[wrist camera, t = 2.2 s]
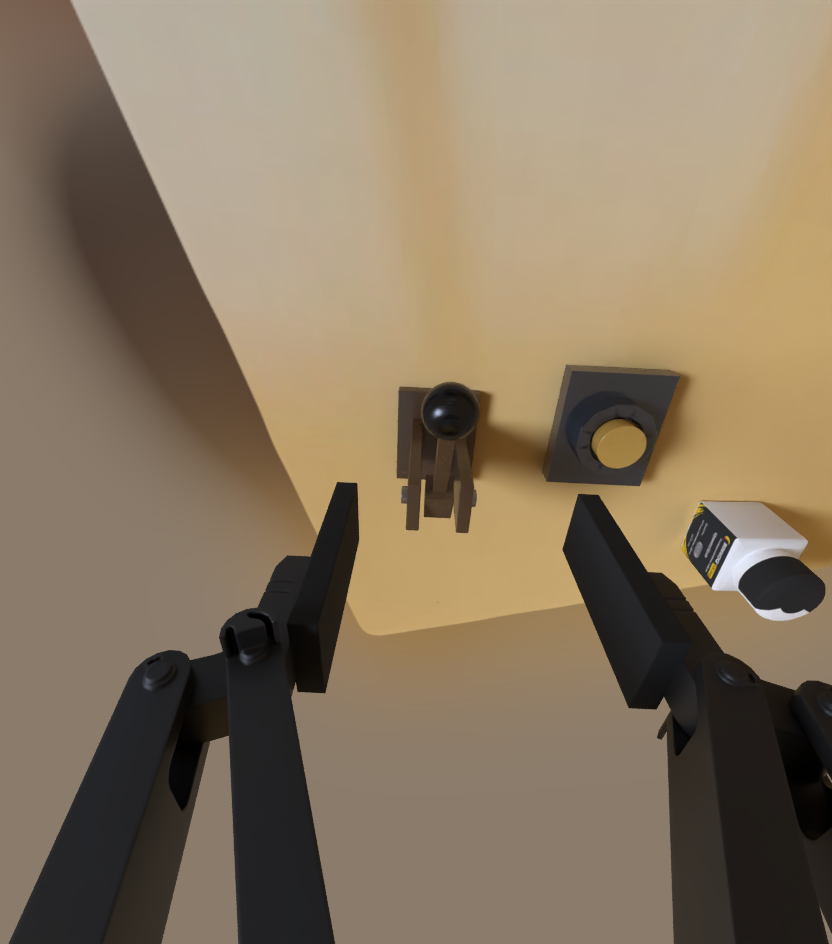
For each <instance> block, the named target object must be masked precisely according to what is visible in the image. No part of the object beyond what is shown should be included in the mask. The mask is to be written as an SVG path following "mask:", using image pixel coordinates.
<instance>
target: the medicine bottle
mask: <svg viewBox="0 0 832 944" xmlns="http://www.w3.org/2000/svg"><path fill="white" fill-rule="evenodd" d="M807 544H808V541H807V539H805V538H804V537H803V536H802V535H801V534H799V533H798V532H797V531H796V530H794V529H793V528H792V527H791V526H790V525H788V524H787V523H786V522H785V521H783V520H782V519H781V518H780V517H779V516H777V515H776V514H775V513H774V512H773V511H771V510H770V509H769V508H768V507H766V506H765V505H764V504H763V503H761V502H722V501H701V502H699V503H698V506H697V508H696V511H695V513H694V515H693V518H692V520H691V523H690V525H689V528H688V530H687V532H686V535H685V537H684V540H683V542H682V545H681V547H680V548H681V550H682V551H683V553H684V554H685V555H686V556H687V558H688V559H689V560H690V562H691V563H692V564H693V565H694V567H695V568H696V569H697V570H698V572H699V573H700V574H701V575H702V577H703V578H704V579H705V581H706V582H707V583H708V584H709V586H710V587H711V588H712V589H713V590H718V591H739V592H740V593H741V595H742V596H743V597H744V598H745V599H746V600H747V602H748V603H749V604H750V605H751V606H752V607H753V609H754V610H755V611H756V612H757V613H758V614H759V615H760V616H761V617H763V618H766V619H770V620H775V621H786V620H791V619H795V618H799V617H801V616H803V615H806V614H807V613H809V612H811V611H812V610H814V609H815V608H816V607H817V606H818V605H819V604H820V603H821V602H822V600H823V599H824V596H825V584H824V582H823V581H822V580H821V579H820V578H819V577H818V576H817V575H815V574H814V573H813V572H812V571H811V570H810V569H809V568H808V567H807V566H805V565H804V564H803V563H802V562H801V561H800V560H799V557H800V555H801V554H802V552H803V551H804V549H805V547H806V546H807Z"/></svg>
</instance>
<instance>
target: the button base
mask: <svg viewBox="0 0 832 944" xmlns="http://www.w3.org/2000/svg"><path fill="white" fill-rule="evenodd" d="M679 378H680V376H679V375H677V374H675V373H673V372H672V371H670V370H658V369H638V368H618V367H597V366H577V365H566V368H565V372H564V377H563V381H562V386H561V390H560V395H559V399H558V404H557V408H556V412H555V417H554V421H553V426H552V430H551V435H550V439H549V444H548V448H547V453H546V457H545V462H544V466H543V471H542V473H543V475H544V477H545V479H546V481H547V482H566V483H587V484H607V485H627V486H640V484H641V482H642V479H643V476H644V473H645V471H646V468H647V465H648V462H649V460H650V457H651V454H652V452H653V449H654V446H655V443H656V441H657V438H658V435H659V432H660V430H661V427H662V424H663V421H664V419H665V416H666V413H667V411H668V408H669V405H670V402H671V400H672V397H673V394H674V391H675V389H676V386H677V383H678V380H679ZM614 419H626V420H629V421H631V422H633V423H634V424H635V425H636V426H637V427H638V428H639V429H640V430H641V431H642V432H643V433H644V435H645V437H646V442H647V444H646V449H645V451H644V453H643V455H642V456H641V457H640V458H639V459H638V460H637V461H636V462H635V463H633V464H631V465H629V466H627V467H623V468H610V467H607V466H605V465H604V464H602V463H601V462H600V460H599V459H598V457H597V456H596V455H595V453H594V452H593V450H592V446H591V442H592V438H593V435H594V433H595V432H596V430H597V429H598V428H599V427H600V426H601V425H603V424H604V423H606V422H608V421H610V420H614Z"/></svg>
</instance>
